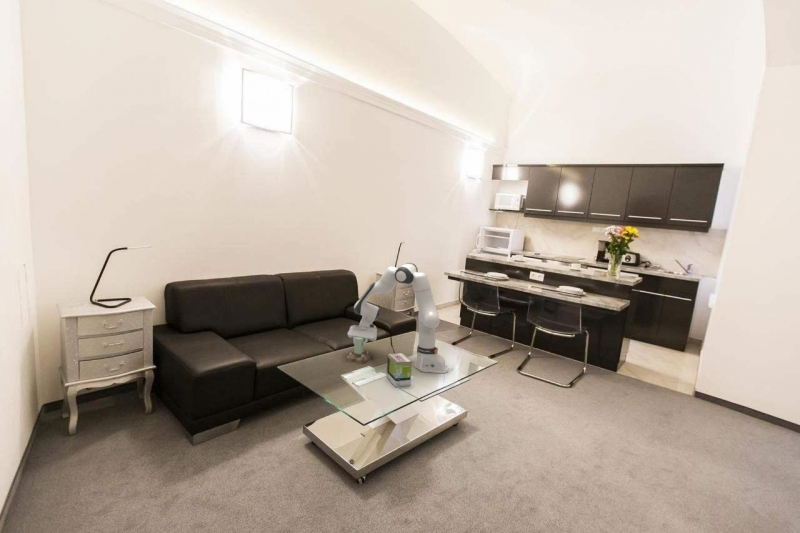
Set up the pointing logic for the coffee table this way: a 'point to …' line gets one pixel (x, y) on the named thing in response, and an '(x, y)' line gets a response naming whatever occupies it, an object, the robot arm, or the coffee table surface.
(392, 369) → the tea box
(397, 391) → the coffee table surface
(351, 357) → the walnut peg plate
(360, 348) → the sage post
